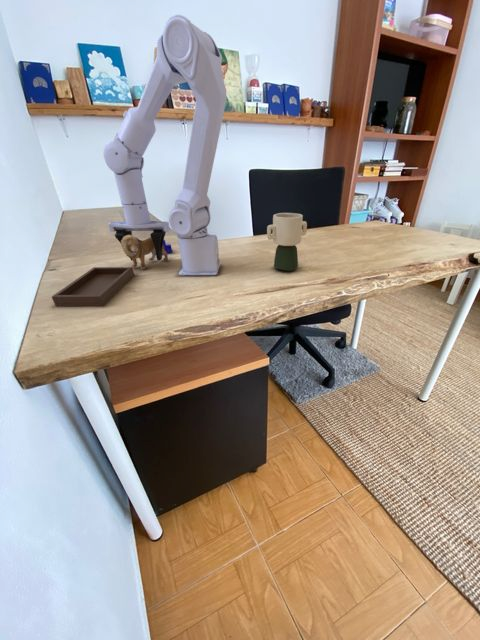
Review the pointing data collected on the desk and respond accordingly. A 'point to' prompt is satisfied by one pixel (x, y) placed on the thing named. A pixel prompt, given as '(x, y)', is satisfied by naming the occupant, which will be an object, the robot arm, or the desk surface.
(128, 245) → the lion figurine
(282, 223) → the beige and green trophy
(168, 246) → the cable holder
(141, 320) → the desk surface
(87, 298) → the brown rectangular tray
